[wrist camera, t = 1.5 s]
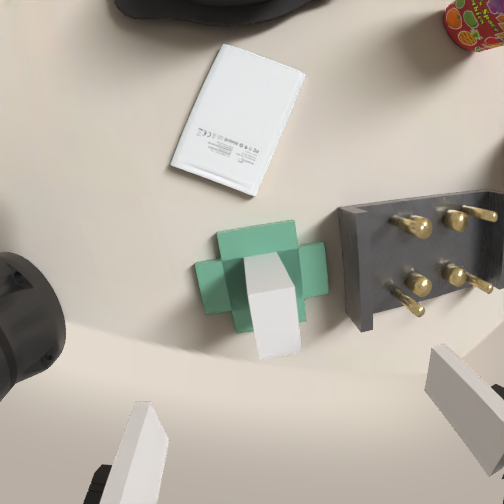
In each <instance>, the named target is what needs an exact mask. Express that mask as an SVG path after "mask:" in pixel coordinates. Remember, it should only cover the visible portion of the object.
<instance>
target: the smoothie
mask: <svg viewBox="0 0 504 504" xmlns="http://www.w3.org/2000/svg"><path fill="white" fill-rule="evenodd" d="M444 24H445V27H446V29H447V32H448V33H449V35H450V36H451V38H452V39H453V40H454V41H455V42H456V43H457V44H458V45H459V46H461V47H462V48H464V49H466V50H472V51H475V52H480V51H484V50H488V49H491V48H495V47H499V46H503V45H504V0H455V1H454V2H453V3H451V4H450V5H449V6H448V7H447V8H446V13H445V15H444Z"/></svg>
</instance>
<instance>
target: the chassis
mask: <svg viewBox="0 0 504 504" xmlns="http://www.w3.org/2000/svg"><path fill="white" fill-rule="evenodd" d="M338 211H339V221H340V231H341V242H342V254H343V267H344V282H345V300H346V313H347V314H348V316H349V317H350V318H351V320H352V321H353V322H354V324H355V325H356V326H357V328H358V329H359V330H360V332H365V331H369V330H373V313H377V312H381V311H385V310H389V309H393V308H397V307H401V306H405V307H407V308H408V309H409V310H410V311H411V312H412V313H414V314H415V315H416V316H417V317H421V316H422V315H423V314H424V312H425V309H424V307H422V306H421V305H420V304H418V303H417V302H419V301H423V300H426V299H430V298H433V297H437V296H440V295H444V294H447V293H450V292H453V291H457V290H460V289H463V288H466V287H469V286H472V285H474V286H476V287H478V288H479V289H481V290H483V291H485V292H486V293H488V294H490V293H491V292H492V291H493V286H494V287H496V288H498V289H502V288H504V192H499V191H492V190H486V189H484V190H475V191H465V192H456V193H447V194H438V195H430V196H421V197H413V198H405V199H397V200H389V201H382V202H374V203H367V204H359V205H352V206H345V207H338Z"/></svg>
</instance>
